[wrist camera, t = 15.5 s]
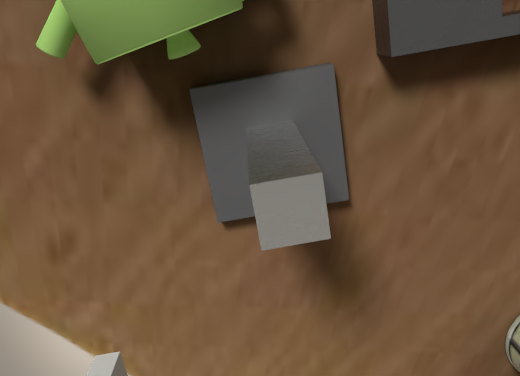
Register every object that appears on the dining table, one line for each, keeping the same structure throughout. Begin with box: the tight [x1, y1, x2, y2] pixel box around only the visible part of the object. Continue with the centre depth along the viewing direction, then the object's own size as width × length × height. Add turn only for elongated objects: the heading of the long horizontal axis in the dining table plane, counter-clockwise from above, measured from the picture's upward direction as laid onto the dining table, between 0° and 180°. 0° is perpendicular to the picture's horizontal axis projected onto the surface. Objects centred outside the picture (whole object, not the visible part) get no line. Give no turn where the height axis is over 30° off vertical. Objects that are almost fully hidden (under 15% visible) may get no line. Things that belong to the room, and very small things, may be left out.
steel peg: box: [246, 121, 331, 250], centre depth 33 cm, size 4×4×15 cm
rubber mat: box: [189, 63, 349, 223], centre depth 41 cm, size 12×12×2 cm
